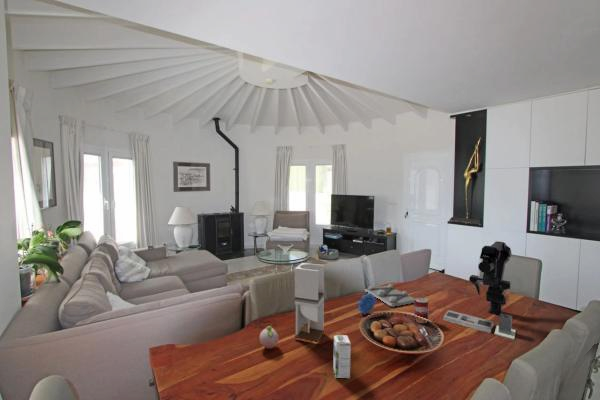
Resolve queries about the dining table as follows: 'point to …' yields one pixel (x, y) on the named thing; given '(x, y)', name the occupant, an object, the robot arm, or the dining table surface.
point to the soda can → (421, 307)
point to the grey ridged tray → (390, 295)
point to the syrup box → (341, 356)
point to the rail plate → (478, 322)
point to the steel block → (505, 324)
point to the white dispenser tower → (309, 301)
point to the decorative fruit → (268, 337)
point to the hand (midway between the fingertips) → (488, 296)
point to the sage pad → (505, 334)
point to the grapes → (366, 303)
